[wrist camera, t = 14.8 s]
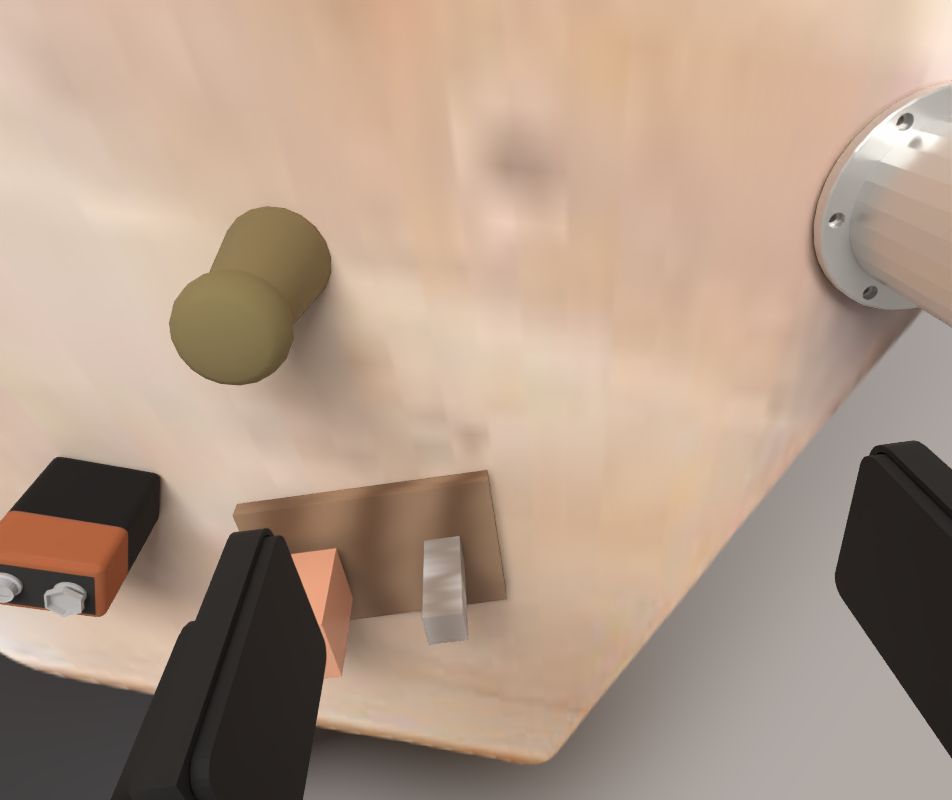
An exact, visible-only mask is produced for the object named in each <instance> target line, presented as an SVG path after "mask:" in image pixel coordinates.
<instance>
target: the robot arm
mask: <svg viewBox="0 0 952 800" xmlns="http://www.w3.org/2000/svg"><path fill="white" fill-rule="evenodd" d="M814 246H815V250H816V255H817V259H818V262H819V264H820V266H821V268H822V270H823V272H824V274H825V276H826V277H827V278H828V279H829V281H830V282H831V283H832V284H833V285H834V286H835V287H836V288H837V289H838V290H840V291H841V292H842V293H844V294H845V295H846V296H848V297H849V298H851V299H853V300H854V301H856V302H858V303H860V304H862V305H865V306H869V307H873V308H877V309H881V310H905V309H912V308H919V307H920V308H921V309H923V310H925V311H926V312H928V313H930V314H931V315H933V316H934V317H936V318H938V319H939V320H941V321H943V322H944V323H946V324H947V325H949V326H951V327H952V81H947V82H942V83H939V84H936V85H933V86H930V87H927V88H924V89H921V90H918V91H917V92H915V93H913V94H911V95H909V96H907V97H905V98H903V99H902V100H900V101H898V102H896V103H894V104H893V105H892V106H890V107H889V108H888V109H886V110H885V111H884V112H882V113H881V114H880V115H878V116H877V117H876V118H874V119H873V120H872V121H871V122H870V123H869V124H868V125H867V126H866V127H865V128H864V129H863V130H862V131H861V132H860V133H859V134H858V135H857V136H856V137H855V138H854V139H853V140H852V142H851V143H850V144H849V146H848V147H847V148H846V149H845V151H844V152H843V153H842V155H841V156H840V157H839V159H838V160H837V162H836V164H835V166H834V167H833V169H832V171H831V173H830V175H829V176H828V178H827V180H826V182H825V185H824V188H823V190H822V193H821V196H820V198H819V201H818V205H817V210H816V215H815V220H814ZM835 583H836V586H837V589H838V592H839V594H840V596H841V598H842V599H843V601H844V602H845V604H846V605H847V606H848V608H849V609H850V611H851V612H852V614H853V615H854V617H855V618H856V620H857V621H858V622H859V624H860V625H861V627H862V628H863V630H864V631H865V633H866V634H867V636H868V637H869V639H870V640H871V641H872V643H873V644H874V646H875V647H876V649H877V650H878V652H879V653H880V655H881V656H882V657H883V659H884V660H885V661H886V663H887V665H888V666H889V668H890V669H891V670H892V672H893V673H894V674H895V676H896V678H897V679H898V680H899V682H900V684H901V685H902V687H903V688H904V689H905V691H906V692H907V694H908V695H909V697H910V698H911V700H912V701H913V703H914V704H915V705H916V707H917V708H918V710H919V711H920V713H921V714H922V716H923V717H924V718H925V720H926V722H927V723H928V724H929V726H930V727H931V729H932V730H933V732H934V733H935V734H936V736H937V738H938V739H939V740H940V742H941V743H942V745H943V746H944V748H945V749H946V750H947V752H948V754H949V755H950V756H951V758H952V469H951V468H950V467H948V466H947V465H946V464H945V463H944V462H943V461H942V460H941V459H939V458H938V457H937V456H936V455H935V454H934V453H933V452H932V451H931V450H929V449H928V448H927V447H926V446H925V445H923V444H921V443H920V442H918V441H906V442H899V443H891V444H885V445H878V446H875V447H874V448H873V449H872V450H871V453H870V455H869V456H866V457H864V458H863V459H862V461H861V464H860V468H859V472H858V477H857V481H856V485H855V489H854V494H853V498H852V503H851V507H850V511H849V515H848V520H847V524H846V529H845V533H844V537H843V541H842V546H841V550H840V554H839V559H838V563H837V567H836V572H835ZM326 658H327V653H326V644H325V640H324V638H323V635H322V632H321V630H320V627H319V625H318V622H317V620H316V617H315V615H314V612H313V610H312V607H311V604H310V602H309V599H308V597H307V594H306V592H305V589H304V587H303V584H302V582H301V579H300V576H299V574H298V571H297V569H296V566H295V564H294V561H293V559H292V556H291V554H290V551H289V548H288V546H287V543H286V541H285V539H284V537H283V536H282V535H278V536H274V535H273V533H272V531H271V530H270V529H269V528H263V529H255V530H248V531H241V532H233V533H232V534H231V535H230V536H229V538H228V540H227V542H226V545H225V547H224V550H223V552H222V555H221V557H220V560H219V562H218V565H217V567H216V570H215V572H214V575H213V577H212V580H211V582H210V585H209V587H208V590H207V592H206V595H205V597H204V600H203V603H202V605H201V608H200V610H199V613H198V615H197V618H196V620H195V621H192V622H189V623H188V624H187V625H186V626H185V627H183V629H182V631H181V633H180V635H179V636H178V639H177V641H176V643H175V646H174V648H173V651H172V653H171V656H170V658H169V660H168V663H167V665H166V668H165V670H164V672H163V675H162V677H161V680H160V682H159V684H158V687H157V689H156V692H155V694H154V697H153V699H152V702H151V704H150V706H149V709H148V711H147V713H146V716H145V718H144V721H143V723H142V725H141V728H140V730H139V733H138V735H137V738H136V740H135V742H134V745H133V747H132V750H131V752H130V754H129V757H128V759H127V762H126V764H125V766H124V769H123V772H122V774H121V776H120V779H119V781H118V784H117V786H116V788H115V791H114V793H113V795H112V798H111V800H303V795H304V790H305V784H306V778H307V772H308V766H309V760H310V754H311V749H312V743H313V737H314V731H315V725H316V720H317V714H318V708H319V702H320V696H321V690H322V685H323V679H324V673H325V667H326Z"/></svg>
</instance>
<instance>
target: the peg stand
mask: <svg viewBox="0 0 952 800" xmlns="http://www.w3.org/2000/svg"><path fill="white" fill-rule="evenodd" d="M233 518H234V520H235V522H236V525H237V527H238V529H239V531H240V532H241V531H248V530H255V529H263V528H269V529H270V530H271V531H272V533H273V535H274V536H278V535H282V536H283V537H284V539H285V541H286V543H287V546H288V548H289V551H290V554H296V553H304V552H311V551H319V550H326V549H334V548H336V549H337V552H338V555H339V558H340V561H341V564H342V567H343V570H344V573H345V576H346V579H347V582H348V585H349V588H350V591H351V594H352V597H353V602H352V609H351V615H350V620H353V619H360V618H368V617H376V616H383V615H391V614H398V613H406V612H414V611H421V610H422V619H423V623H424V627H425V631H426V635H427V639H428V642H429V645H430V644H438V643H446V642H453V641H461V640H468V625H467V604H475V603H482V602H490V601H498V600H505V599H507V597H506V588H505V582H504V575H503V569H502V562H501V556H500V549H499V543H498V537H497V530H496V524H495V517H494V511H493V504H492V498H491V491H490V485H489V478H488V472H487V470H485V471H478V472H470V473H463V474H456V475H448V476H441V477H434V478H426V479H419V480H412V481H404V482H397V483H390V484H382V485H375V486H368V487H360V488H353V489H346V490H338V491H331V492H324V493H316V494H309V495H302V496H294V497H287V498H280V499H272V500H265V501H258V502H250V503H243V504H237V506H236V508H235V511H234V513H233Z"/></svg>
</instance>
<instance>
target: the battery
mask: <svg viewBox="0 0 952 800" xmlns="http://www.w3.org/2000/svg"><path fill="white" fill-rule="evenodd" d="M159 487H160V478H159V476H158V475H157V474H155V473H150V472H145V471H139V470H133V469H128V468H122V467H116V466H110V465H105V464H99V463H93V462H87V461H82V460H76V459H70V458H64V457H57V458H55V459H54V460H53V461H52V462H51V463H50V464H49V465H48V466H47V467H46V469H45V470H44V471H43V472H42V473H41V474H40V476H39V477H38V478H37V479H36V480H35V481H34V483H33V484H32V485H31V486H30V487H29V488H28V490H27V491H26V492H25V493H24V494H23V495H22V497H21V498H20V499H19V500H18V501H17V502H16V504H15V505H14V506H13V507H12V508H11V510H10V511H9V512H8V513H7V514H6V515H5V517H4V518H3V519H2V520H1V521H0V604H3V605H11V606H18V607H26V608H33V609H41V610H48V611H52V612H55V613H57V614H59V615H61V616H63V617H65V616H69V615H74V614H78V615H86V616H94V617H100V616H103V615H104V614H105V613H106V612H107V610H108V609H109V607H110V605H111V603H112V602H113V600H114V598H115V596H116V594H117V592H118V591H119V589H120V587H121V585H122V583H123V582H124V580H125V578H126V576H127V574H128V572H129V571H130V569H131V567H132V565H133V563H134V562H135V560H136V558H137V556H138V554H139V552H140V551H141V549H142V547H143V545H144V543H145V542H146V540H147V538H148V536H149V534H150V532H151V531H152V529H153V527H154V525H155V523H156V521H157V519H158V515H159Z"/></svg>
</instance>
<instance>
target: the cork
mask: <svg viewBox="0 0 952 800" xmlns="http://www.w3.org/2000/svg"><path fill="white" fill-rule="evenodd" d="M330 274H331V256H330V253H329V250H328V247H327V244H326V241H325V240H324V238H323V237H322V235H321V234H320V232H319V231H318V230H317V228H316V227H315V226H314V225H313V224H311V223H310V222H309V221H308V220H307V219H305V218H304V217H303V216H302V215H299V214H297V213H295V212H292V211H290V210H288V209H285V208H277V207H268V206H266V207H262V208H257V209H252V210H249V211H248V212H246V213H245V214H243V215H241V216H240V217H238V218H237V219H236V220H235V221H234V223H233V224H232V225H231V227H230V228H229V229H228V231H227V233H226V235H225V237H224V240H223V242H222V244H221V247H220V249H219V251H218V254H217V256H216V258H215V260H214V263H213V265H212V267H211V270H210V272H209V273H207V274H203V275H202V276H200V277H199V278H197V279H195V280H194V281H192V282H190V283H189V284H188V285H187V286H186V287H185V288H184V289H183V291H182V292H181V293H180V295H179V296H178V297H177V299H176V300H175V301H174V305H173V309H172V313H171V318H170V322H169V325H170V333H171V340H172V342H173V344H174V346H175V348H176V350H177V352H178V354H179V356H180V357H181V358H182V359H183V361H184V362H185V363H186V364H187V365H188V366H189V367H190V368H191V369H192V370H193V371H195V372H196V373H198V374H199V375H201V376H203V377H204V378H206V379H208V380H211V381H214V382H217V383H220V384H229V385H245V384H250V383H255V382H258V381H260V380H262V379H264V378H266V377H267V376H269V375H271V374H272V373H274V372H275V371H276V370H277V369H278V368H279V366H280V365H281V364H282V363H283V362H284V361H285V360H286V358H287V355H288V353H289V350H290V347H291V344H292V341H293V324H294V323H295V321H296V320H297V319H298V318H299V317H300V316H301V315H302V314H303V312H304V311H305V310H306V309H307V308H308V307H309V306H310V304H311V303H312V302H313V301H314V300H315V299H316V298H317V296H318V295H319V294H320V293H321V292H322V291H323V289H324V288H325V287H326V284H327V282H328V279H329V276H330Z"/></svg>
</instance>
